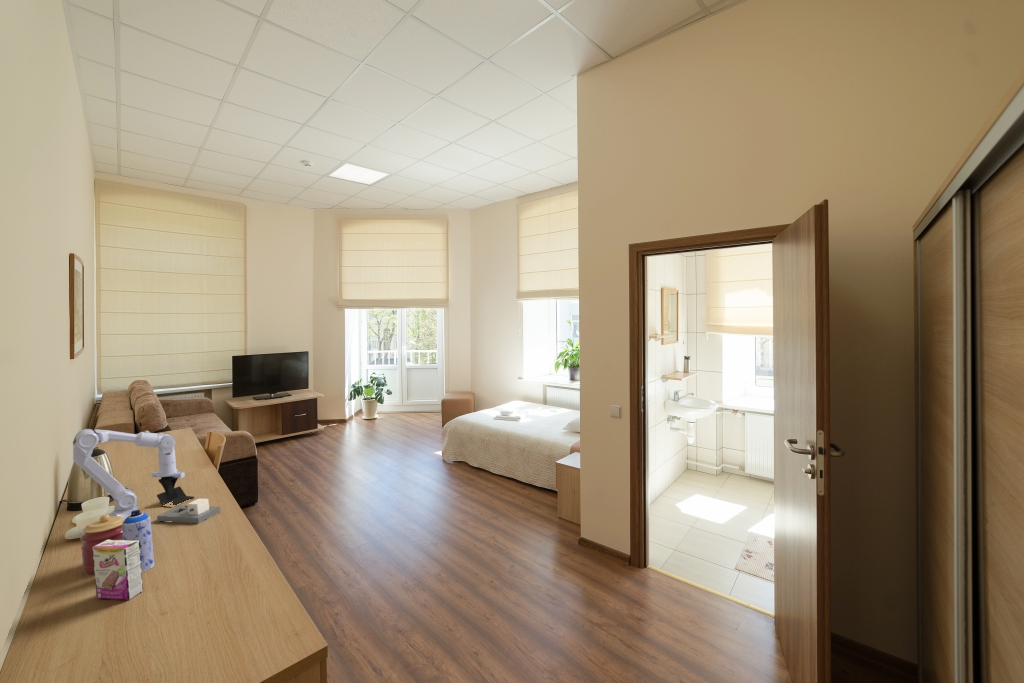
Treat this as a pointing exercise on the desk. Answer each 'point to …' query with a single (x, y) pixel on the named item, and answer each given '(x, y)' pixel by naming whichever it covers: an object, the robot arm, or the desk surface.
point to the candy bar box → (117, 569)
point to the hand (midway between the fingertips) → (169, 493)
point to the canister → (99, 537)
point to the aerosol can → (140, 536)
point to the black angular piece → (173, 497)
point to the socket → (186, 514)
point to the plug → (198, 506)
